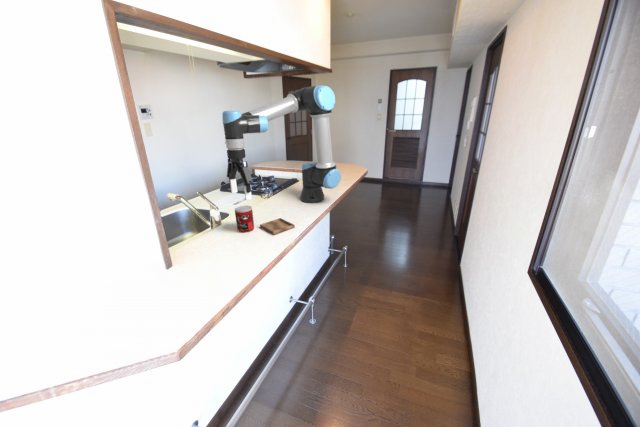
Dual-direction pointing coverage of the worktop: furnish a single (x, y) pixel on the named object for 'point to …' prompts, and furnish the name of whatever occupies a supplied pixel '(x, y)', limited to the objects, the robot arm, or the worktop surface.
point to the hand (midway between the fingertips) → (241, 195)
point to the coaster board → (277, 226)
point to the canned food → (244, 219)
